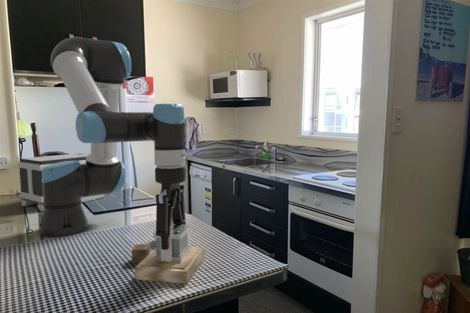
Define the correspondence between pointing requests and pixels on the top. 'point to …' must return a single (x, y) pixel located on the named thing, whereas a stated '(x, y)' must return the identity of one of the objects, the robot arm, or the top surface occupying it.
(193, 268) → the tan square tray
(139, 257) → the walnut block
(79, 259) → the top surface
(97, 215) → the top surface
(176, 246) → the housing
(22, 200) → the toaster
